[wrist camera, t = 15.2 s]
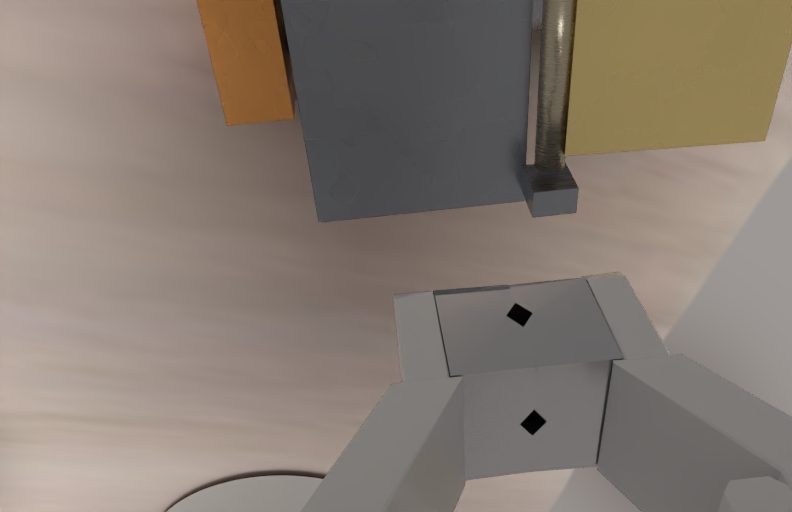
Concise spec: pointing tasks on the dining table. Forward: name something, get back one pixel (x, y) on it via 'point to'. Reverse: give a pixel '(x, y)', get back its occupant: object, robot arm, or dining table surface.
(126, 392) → the dining table surface
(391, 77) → the block
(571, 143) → the keeper flap
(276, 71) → the orange piece
